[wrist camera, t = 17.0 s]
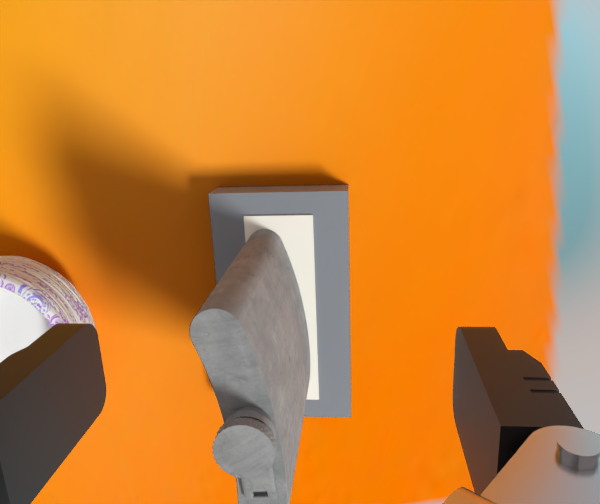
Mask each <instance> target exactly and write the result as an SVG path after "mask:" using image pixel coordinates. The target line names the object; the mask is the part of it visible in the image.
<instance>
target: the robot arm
mask: <svg viewBox="0 0 600 504" xmlns="http://www.w3.org/2000/svg"><path fill="white" fill-rule="evenodd" d="M105 398H106V383H105V377H104V371H103V365H102V359H101V352H100V346H99V340H98V335H97V331H96V329H95V327H94V326H93V325H92V324H82V323H58V324H55V325H54V326H52V327H51V328H50V329H49V330H48V331H46V332H45V333H44V334H43V335H41V336H40V337H39V338H38V339H36V340H35V341H34V342H33V343H31V344H30V345H29V346H28V347H26V348H24V349H22V350H20V351H17V352H15V353H13V354H11V355H10V356H8V357H7V358H6V359H4V360H3V361H2V362H1V363H0V504H31V502H32V501H33V500H34V498H35V497H36V496H37V495H38V493H39V492H40V491H41V489H42V488H43V487H44V485H45V484H46V483H47V482H48V480H49V479H50V478H51V476H52V475H53V474H54V473H55V471H56V470H57V469H58V467H59V466H60V465H61V463H62V462H63V461H64V460H65V458H66V457H67V456H68V454H69V453H70V452H71V451H72V449H73V448H74V447H75V445H76V444H77V443H78V441H79V440H80V439H81V438H82V436H83V435H84V434H85V432H86V431H87V430H88V429H89V427H90V426H91V425H92V423H93V422H94V421H95V419H96V418H97V417H98V416H99V414H100V413H101V411H102V409H103V406H104V403H105ZM453 410H454V418H455V423H456V427H457V431H458V434H459V438H460V441H461V445H462V448H463V452H464V456H465V459H466V463H467V466H468V470H469V473H470V477H471V480H472V484H473V487H474V491H475V493H474V492H472V491H470V490H468V489H466V488H464V487H461V488H458V489H457V490H455V491H454V492H453V493H452V494H451V495H450V496H449V497H448V498H447V499H446V501H445V502H444V503H443V504H600V435H599V434H597V433H594V432H592V431H589V430H585V429H584V428H583V427H582V425H581V424H580V422H579V421H578V419H577V418H576V416H575V415H574V414H573V411H572V410H571V408H570V407H569V405H568V404H567V402H566V401H565V399H564V398H563V396H562V394H561V393H559V390H558V388H557V387H556V385H555V384H554V382H553V381H551V377H550V376H549V374H548V373H547V371H546V370H545V368H544V367H543V365H542V363H540V362H539V361H537V360H536V359H535V358H533V357H532V356H530V355H529V354H527V353H526V352H524V351H523V350H507V348H506V346H505V344H504V342H503V341H502V339H501V337H500V335H499V333H498V332H497V330H496V328H495V327H458V328H457V331H456V340H455V360H454V380H453Z"/></svg>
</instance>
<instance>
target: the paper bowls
mask: <svg viewBox="0 0 600 504" xmlns="http://www.w3.org/2000/svg"><path fill="white" fill-rule="evenodd" d="M58 323H82V324H92V325H93V326H94V327H95V323H94V321H93V318H92V315H91V312H90V310H89V308H88V306H87V304H86V303H85V301H84V299H83V298H82V296H81V295H80V293H79V292H78V291H77V290H76V288H75V287H74V286H73V285H72V284H71V283H70V282H69V281H68V280H67V279H66V278H64V277H63V276H62V275H61V274H59V273H58V272H56V271H55V270H53V269H52V268H50V267H48V266H47V265H44V264H42V263H39V262H37V261H35V260H32V259H29V258H26V257H21V256H0V363H1V362H2V361H3V360H4V359H6V358H7V357H8V356H10V355H11V354H13V353H15V352H17V351H20V350H22V349H24V348H26V347H28V346H29V345H30V344H31V343H33V342H34V341H35V340H36V339H38V338H39V337H40V336H41V335H43V334H44V333H45V332H46V331H48V330H49V329H50V328H51V327H52V326H54V325H55V324H58ZM95 329H96V327H95Z"/></svg>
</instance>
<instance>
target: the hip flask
mask: <svg viewBox="0 0 600 504" xmlns="http://www.w3.org/2000/svg"><path fill="white" fill-rule="evenodd" d="M190 338H191V340H192V343H193V345H194V347H195V349H196V351H197V353H198V354H199V356H200V359H201V361H202V363H203V365H204V367H205V369H206V372H207V374H208V377H209V379H210V381H211V384H212V386H213V389H214V392H215V395H216V397H217V400H218V403H219V406H220V410H221V413H222V416H223V420H224V424H223V426H222V427H220V429H219V431H218V432H217V436H216V437H215V441H214V442H213V447H212V448H213V455H214V459H215V460H216V463H217V464H218V465H219V466H220V468H222V469H223V470H224V471H225V472H227V473H228V474H230V475H233V476H234V477H236V482H237V493H238V504H289V503H290V497H291V491H292V485H293V478H294V472H295V466H296V460H297V454H298V448H299V442H300V435H301V429H302V423H303V417H304V411H305V405H306V399H307V392H308V386H309V380H310V346H309V336H308V328H307V322H306V317H305V311H304V307H303V302H302V298H301V294H300V290H299V286H298V283H297V279H296V276H295V273H294V270H293V267H292V264H291V261H290V259H289V256H288V254H287V251H286V249H285V247H284V244H283V242H282V240H281V238H280V237H279V235H278V234H277V233H275V232H274V231H272V230H268V229H260V230H257V231H255V232H254V233H253V234H252V235H251V236H250V237H249V239H248V240H247V242H246V243H245V245H244V246H243V247H242V249H241V250H240V252H239V253H238V255H237V256H236V258H235V259H234V260H233V262H232V263H231V265H230V266H229V268H228V269H227V271H226V272H225V273H224V275H223V276H222V278H221V279H220V281H219V282H218V284H217V285H216V286H215V288H214V289H213V291H212V292H211V294H210V295H209V297H208V298H207V299H206V301H205V302H204V304H203V305H202V307H201V308H200V310H199V311H198V312H197V314H196V315H195V317H194V318H193V320H192V322H191V325H190Z"/></svg>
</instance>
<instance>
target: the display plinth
mask: <svg viewBox="0 0 600 504" xmlns="http://www.w3.org/2000/svg"><path fill="white" fill-rule="evenodd" d="M208 196H209V207H210V218H211V229H212V240H213V251H214V262H215V273H216V284H218V282H219V281H220V279H221V278H222V276H223V275H224V273H225V272H226V271H227V269H228V268H229V266H230V265H231V263H232V262H233V260H234V259H235V258H236V256H237V255H238V253H239V252H240V250H241V249H242V247H243V246H244V245H245V243H246V242H247V240H248V239H249V237H250V236H251V235H252V234H253V233H254V232H255V231H257V230H260V229H268V230H272V231H274V232H275V233H277V234H278V235H279V237H280V238H281V240H282V242H283V244H284V247H285V249H286V251H287V254H288V256H289V259H290V261H291V264H292V267H293V270H294V273H295V276H296V279H297V283H298V286H299V290H300V294H301V298H302V302H303V307H304V311H305V317H306V322H307V328H308V336H309V346H310V380H309V386H308V392H307V399H306V405H305V411H304V416H309V417H349V418H351V345H350V273H349V201H348V185H300V186H253V187H217V188H215V189H214V190H213V191H211V192H210V193H209V194H208Z"/></svg>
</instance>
